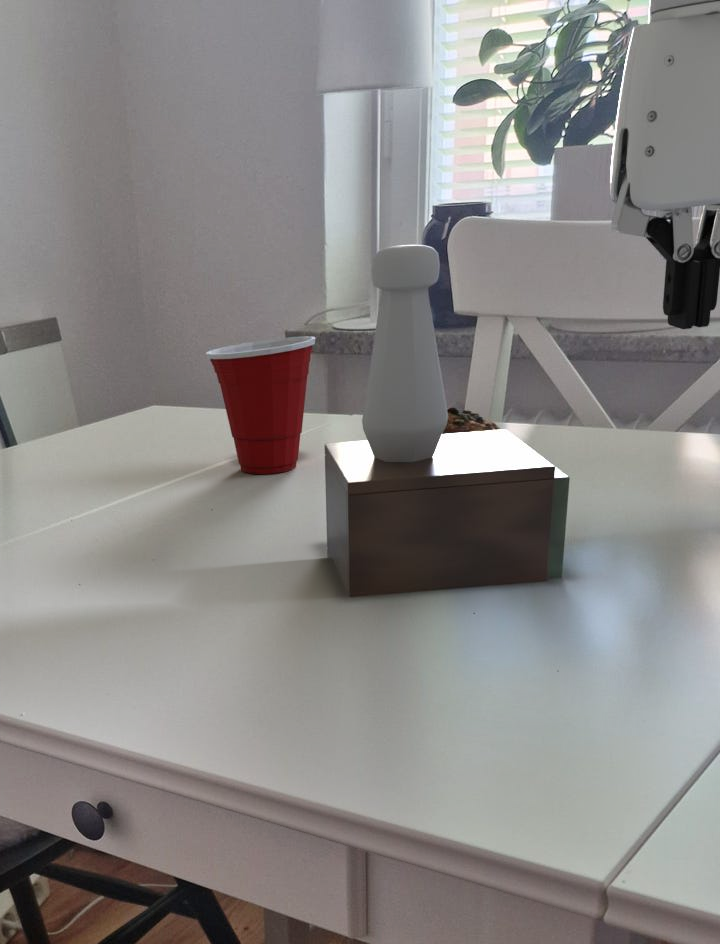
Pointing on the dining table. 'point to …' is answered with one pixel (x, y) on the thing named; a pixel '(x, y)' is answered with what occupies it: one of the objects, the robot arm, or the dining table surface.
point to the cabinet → (439, 515)
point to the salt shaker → (404, 359)
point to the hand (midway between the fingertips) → (687, 324)
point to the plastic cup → (265, 399)
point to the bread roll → (467, 422)
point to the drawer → (558, 524)
